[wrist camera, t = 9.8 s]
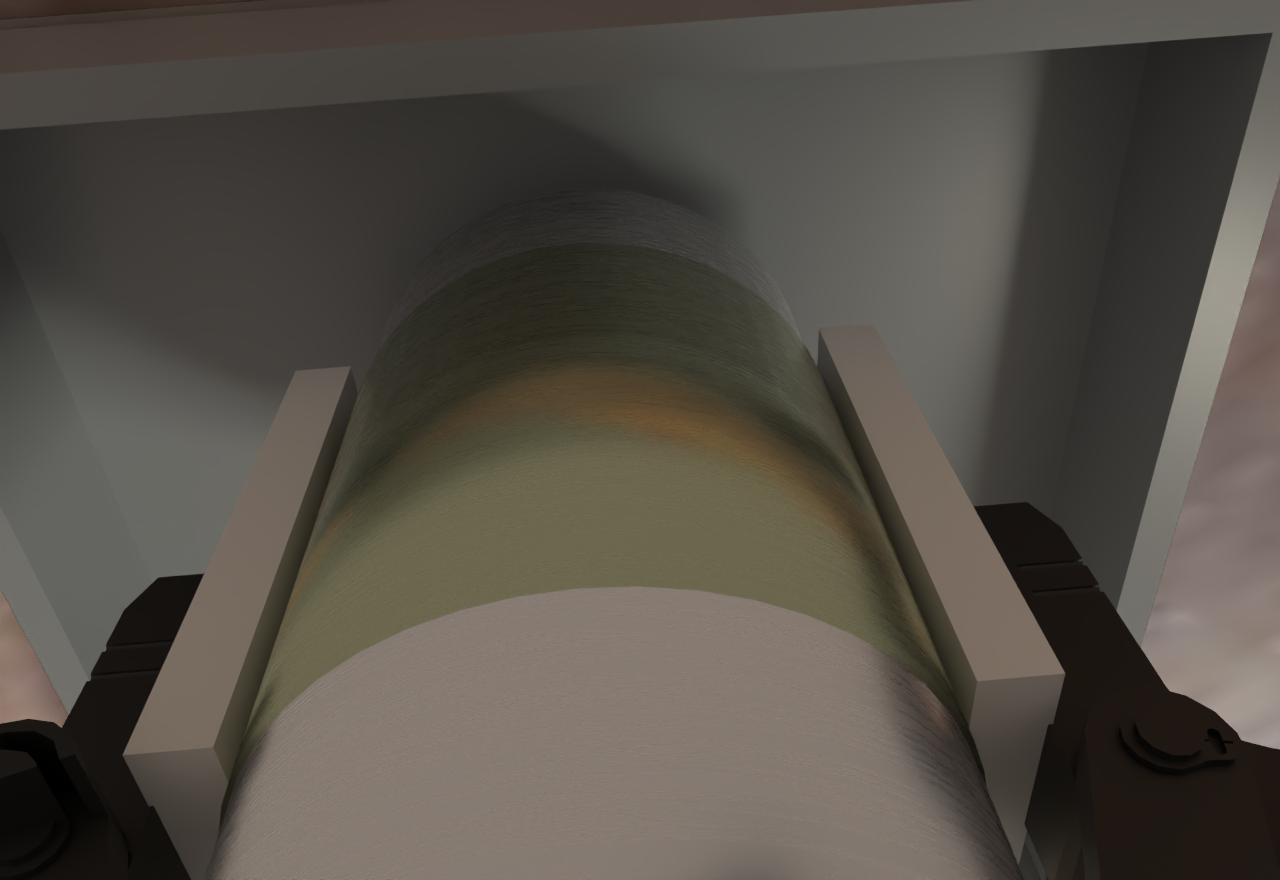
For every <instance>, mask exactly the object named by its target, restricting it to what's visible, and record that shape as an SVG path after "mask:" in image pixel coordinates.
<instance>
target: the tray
mask: <svg viewBox="0 0 1280 880" xmlns="http://www.w3.org/2000/svg"><path fill="white" fill-rule="evenodd" d="M1279 177H1280V0H260V1H247V2H234V3H220V4H207V5H193V6H180V7H166V8H153V9H139V10H126V11H112V12H99V13H86V14H72V15H59V16H45V17H32V18H18V19H5V20H0V589H1V591H2V593H3V594H4V596H5V598H6V600H7V602H8V604H9V606H10V607H11V609H12V611H13V613H14V615H15V617H16V619H17V620H18V622H19V624H20V626H21V628H22V630H23V631H24V633H25V635H26V637H27V639H28V641H29V643H30V644H31V646H32V648H33V650H34V652H35V654H36V656H37V657H38V659H39V661H40V663H41V665H42V667H43V669H44V670H45V672H46V674H47V676H48V678H49V680H50V681H51V683H52V685H53V687H54V689H55V691H56V693H57V694H58V696H59V698H60V700H61V702H62V704H63V706H64V707H65V709H66V711H67V713H68V715H69V714H70V712H71V710H72V708H73V706H74V704H75V702H76V700H77V698H78V696H79V695H80V693H81V691H82V689H83V687H84V685H85V683H86V681H90V680H91V672H92V670H93V668H94V666H95V664H96V662H97V660H98V659H99V657H100V655H101V653H102V652H105V651H106V643H107V641H108V640H109V638H110V636H111V634H112V632H113V630H114V628H115V626H116V624H117V622H118V621H119V619H120V617H121V615H122V613H123V611H124V609H125V608H126V607H128V606H129V605H130V604H131V603H132V602H133V601H134V600H135V599H136V598H137V597H138V596H139V595H140V594H141V593H142V592H143V591H144V590H146V589H147V588H148V587H149V586H150V585H151V584H152V583H153V582H154V581H155V580H156V579H157V578H158V577H169V576H181V575H193V574H204V573H205V571H206V569H207V567H208V565H209V562H210V560H211V558H212V556H213V553H214V551H215V549H216V547H217V545H218V542H219V540H220V538H221V536H222V533H223V531H224V529H225V527H226V525H227V522H228V520H229V518H230V516H231V514H232V511H233V509H234V507H235V505H236V502H237V500H238V498H239V496H240V494H241V491H242V489H243V487H244V485H245V482H246V480H247V478H248V476H249V474H250V471H251V469H252V467H253V465H254V462H255V460H256V458H257V456H258V454H259V451H260V449H261V447H262V445H263V442H264V440H265V438H266V436H267V434H268V431H269V429H270V427H271V425H272V423H273V420H274V418H275V416H276V414H277V411H278V409H279V407H280V405H281V403H282V400H283V398H284V396H285V394H286V391H287V389H288V387H289V385H290V383H291V380H292V378H293V376H294V374H295V371H297V370H310V369H322V368H334V367H347V366H351V368H352V372H353V376H354V380H355V384H356V389H357V393H359V390H360V387H361V384H362V382H363V380H364V378H365V376H366V374H367V372H368V370H369V368H370V366H371V364H372V362H373V360H374V358H375V355H376V352H377V349H378V346H379V343H380V340H381V337H382V334H383V331H384V327H385V324H386V321H387V318H388V315H389V312H390V310H391V308H392V306H393V304H394V302H395V300H396V298H397V296H398V294H399V292H400V290H401V289H402V287H403V286H404V284H405V283H406V281H407V280H408V279H409V277H410V276H411V274H412V273H413V271H414V270H415V269H416V267H417V266H418V265H419V264H420V263H421V262H422V261H423V260H424V259H425V258H426V257H427V255H428V254H429V253H430V252H431V251H432V250H433V249H434V248H435V247H436V246H437V245H439V244H440V243H441V242H442V241H444V240H445V239H446V238H447V237H449V236H450V235H451V234H452V233H454V232H455V231H456V230H457V229H459V228H460V227H462V226H464V225H466V224H467V223H469V222H471V221H472V220H474V219H476V218H477V217H479V216H481V215H483V214H484V213H487V212H489V211H491V210H494V209H496V208H498V207H501V206H503V205H506V204H508V203H510V202H513V201H517V200H520V199H524V198H527V197H531V196H535V195H538V194H542V193H549V192H556V191H563V190H570V189H610V190H619V191H628V192H635V193H639V194H643V195H648V196H652V197H656V198H660V199H664V200H666V201H669V202H672V203H674V204H677V205H679V206H682V207H684V208H687V209H690V210H692V211H694V212H696V213H698V214H699V215H701V216H703V217H705V218H707V219H708V220H710V221H712V222H714V223H716V224H717V225H719V226H720V227H721V228H723V229H724V230H725V231H727V232H728V233H730V234H731V235H732V236H734V237H735V238H736V239H738V240H739V241H740V242H741V243H742V244H743V245H744V246H745V247H746V248H747V249H748V250H749V251H750V252H751V253H752V254H753V255H754V256H755V257H756V258H757V259H758V260H759V261H760V262H761V263H762V265H763V266H764V267H765V269H766V270H767V271H768V273H769V274H770V275H771V277H772V278H773V279H774V281H775V282H776V284H777V285H778V287H779V289H780V291H781V293H782V295H783V297H784V298H785V300H786V302H787V304H788V306H789V309H790V311H791V313H792V316H793V318H794V321H795V323H796V326H797V328H798V330H799V333H800V335H801V338H802V340H803V343H804V344H805V346H806V347H807V349H808V351H809V353H810V355H811V356H812V358H813V360H814V362H815V364H816V366H817V360H818V336H819V329H820V328H832V327H844V326H857V325H869V324H873V325H874V327H875V329H876V331H877V332H878V334H879V336H880V338H881V340H882V342H883V343H884V345H885V347H886V349H887V351H888V352H889V354H890V356H891V358H892V360H893V362H894V363H895V365H896V367H897V369H898V371H899V372H900V374H901V376H902V378H903V380H904V382H905V383H906V385H907V387H908V389H909V391H910V392H911V394H912V396H913V398H914V400H915V401H916V403H917V405H918V407H919V409H920V411H921V412H922V414H923V416H924V418H925V420H926V421H927V423H928V425H929V427H930V429H931V431H932V432H933V434H934V436H935V438H936V440H937V441H938V443H939V445H940V447H941V449H942V451H943V452H944V454H945V456H946V458H947V460H948V461H949V463H950V465H951V467H952V469H953V470H954V472H955V474H956V476H957V478H958V480H959V481H960V483H961V485H962V487H963V489H964V490H965V492H966V494H967V496H968V498H969V500H970V501H971V503H972V505H973V506H984V505H996V504H1008V503H1020V502H1028V503H1029V504H1031V505H1032V506H1033V507H1035V508H1036V509H1037V510H1039V511H1040V512H1041V513H1043V514H1044V515H1046V516H1047V517H1048V518H1050V519H1051V520H1052V521H1054V522H1055V523H1056V524H1058V525H1059V526H1061V527H1062V528H1063V530H1064V531H1065V533H1066V534H1067V536H1068V537H1069V539H1070V540H1071V542H1072V543H1073V545H1074V547H1075V548H1076V550H1077V551H1078V553H1079V554H1080V556H1081V557H1082V559H1083V565H1087V566H1088V568H1089V570H1090V571H1091V573H1092V574H1093V576H1094V577H1095V579H1096V580H1097V582H1098V583H1099V588H1100V591H1101V592H1104V593H1105V594H1106V596H1107V597H1108V599H1109V600H1110V602H1111V603H1112V605H1113V606H1114V608H1115V609H1116V611H1117V612H1118V614H1119V616H1120V617H1121V619H1122V620H1123V622H1124V623H1125V625H1126V626H1127V628H1128V629H1129V631H1130V632H1131V634H1132V635H1133V637H1134V639H1135V640H1136V642H1137V643H1138V645H1139V646H1140V647H1141V643H1142V640H1143V637H1144V633H1145V630H1146V626H1147V623H1148V620H1149V616H1150V613H1151V610H1152V606H1153V603H1154V599H1155V596H1156V593H1157V589H1158V586H1159V583H1160V579H1161V576H1162V572H1163V569H1164V566H1165V562H1166V559H1167V556H1168V552H1169V549H1170V545H1171V542H1172V539H1173V535H1174V532H1175V528H1176V525H1177V522H1178V518H1179V515H1180V512H1181V508H1182V505H1183V501H1184V498H1185V495H1186V491H1187V488H1188V485H1189V481H1190V478H1191V474H1192V471H1193V468H1194V464H1195V461H1196V458H1197V454H1198V451H1199V447H1200V444H1201V441H1202V437H1203V434H1204V431H1205V427H1206V424H1207V420H1208V417H1209V414H1210V410H1211V407H1212V403H1213V400H1214V397H1215V393H1216V390H1217V387H1218V383H1219V380H1220V376H1221V373H1222V370H1223V366H1224V363H1225V360H1226V356H1227V353H1228V349H1229V346H1230V343H1231V339H1232V336H1233V333H1234V329H1235V326H1236V322H1237V319H1238V316H1239V312H1240V309H1241V305H1242V302H1243V299H1244V295H1245V292H1246V289H1247V285H1248V282H1249V278H1250V275H1251V272H1252V268H1253V265H1254V262H1255V258H1256V255H1257V251H1258V248H1259V245H1260V241H1261V238H1262V235H1263V231H1264V228H1265V224H1266V221H1267V218H1268V214H1269V211H1270V208H1271V204H1272V201H1273V197H1274V194H1275V191H1276V187H1277V184H1278V180H1279ZM1019 867H1020V870H1021V872H1022V874H1023V877H1024V879H1025V880H1043V877H1044V874H1045V870H1044V868H1043V866H1042V864H1041V861H1040V859H1039V857H1038V854H1037V852H1036V850H1035V847H1034V845H1033V843H1032V840H1031V838H1030V836H1029V834H1028V831H1027V833H1026V837H1025V841H1024V845H1023V849H1022V853H1021V857H1020V862H1019Z"/></svg>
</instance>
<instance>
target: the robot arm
mask: <svg viewBox="0 0 1280 880" xmlns="http://www.w3.org/2000/svg"><path fill="white" fill-rule="evenodd" d="M817 367H818V369H819V371H820V373H821V376H822V378H823V381H824V383H825V385H826V388H827V390H828V393H829V395H830V397H831V400H832V402H833V404H834V407H835V409H836V412H837V414H838V416H839V419H840V421H841V424H842V426H843V428H844V431H845V433H846V436H847V438H848V440H849V443H850V445H851V447H852V450H853V452H854V455H855V457H856V459H857V462H858V464H859V467H860V469H861V471H862V474H863V476H864V479H865V481H866V483H867V486H868V488H869V490H870V493H871V495H872V498H873V500H874V502H875V505H876V507H877V510H878V512H879V514H880V517H881V519H882V522H883V524H884V526H885V529H886V531H887V533H888V536H889V538H890V541H891V543H892V545H893V548H894V550H895V553H896V555H897V557H898V560H899V562H900V564H901V567H902V569H903V572H904V574H905V576H906V579H907V581H908V584H909V586H910V588H911V591H912V593H913V596H914V598H915V600H916V603H917V605H918V607H919V610H920V612H921V615H922V617H923V619H924V622H925V624H926V627H927V629H928V631H929V634H930V636H931V639H932V641H933V643H934V646H935V648H936V650H937V653H938V655H939V658H940V660H941V662H942V665H943V667H944V670H945V672H946V674H947V677H948V679H949V681H950V684H951V686H952V689H953V691H954V693H955V696H956V698H957V701H958V703H959V705H960V708H961V710H962V713H963V715H964V717H965V720H966V722H967V724H968V727H969V729H970V732H971V734H972V736H973V739H974V741H975V744H976V747H977V750H978V753H979V756H980V759H981V762H982V765H983V768H984V771H985V779H986V787H987V789H988V792H989V794H990V797H991V799H992V802H993V804H994V806H995V809H996V811H997V814H998V816H999V819H1000V821H1001V823H1002V826H1003V828H1004V831H1005V833H1006V836H1007V838H1008V840H1009V843H1010V845H1011V848H1012V850H1013V853H1014V855H1015V857H1016V860H1017V862H1018V865H1019V862H1020V857H1021V853H1022V849H1023V845H1024V841H1025V837H1026V833H1027V831H1028V834H1029V836H1030V838H1031V840H1032V843H1033V845H1034V847H1035V850H1036V852H1037V854H1038V857H1039V859H1040V861H1041V864H1042V866H1043V868H1044V870H1045V874H1044V877H1043V880H1280V750H1279V749H1273V748H1269V747H1265V746H1261V745H1257V744H1253V743H1249V742H1245V741H1242V740H1241V739H1240V737H1239V736H1238V734H1237V732H1236V731H1235V730H1234V729H1233V728H1232V727H1230V726H1229V725H1228V724H1227V723H1226V722H1225V721H1224V720H1223V719H1222V718H1221V717H1220V716H1219V715H1218V714H1217V713H1216V712H1215V711H1213V710H1211V709H1209V708H1207V707H1205V706H1204V705H1202V704H1200V703H1198V702H1196V701H1195V700H1193V699H1191V698H1189V697H1187V696H1185V695H1181V694H1177V693H1174V692H1170V691H1169V690H1168V689H1167V687H1166V686H1165V684H1164V683H1163V681H1162V680H1161V678H1160V677H1159V675H1158V674H1157V672H1156V671H1155V669H1154V668H1153V666H1152V665H1151V663H1150V661H1149V660H1148V658H1147V657H1146V655H1145V654H1144V652H1143V651H1142V649H1141V648H1140V646H1139V645H1138V643H1137V642H1136V640H1135V639H1134V637H1133V635H1132V634H1131V632H1130V631H1129V629H1128V628H1127V626H1126V625H1125V623H1124V622H1123V620H1122V619H1121V617H1120V616H1119V614H1118V612H1117V611H1116V609H1115V608H1114V606H1113V605H1112V603H1111V602H1110V600H1109V599H1108V597H1107V596H1106V594H1105V593H1104V592H1101V591H1100V588H1099V583H1098V582H1097V580H1096V579H1095V577H1094V576H1093V574H1092V573H1091V571H1090V570H1089V568H1088V566H1087V565H1083V559H1082V557H1081V556H1080V554H1079V553H1078V551H1077V550H1076V548H1075V547H1074V545H1073V543H1072V542H1071V540H1070V539H1069V537H1068V536H1067V534H1066V533H1065V531H1064V530H1063V528H1062V527H1061V526H1059V525H1058V524H1056V523H1055V522H1054V521H1052V520H1051V519H1050V518H1048V517H1047V516H1046V515H1044V514H1043V513H1041V512H1040V511H1039V510H1037V509H1036V508H1035V507H1033V506H1032V505H1031V504H1029V503H1028V502H1020V503H1008V504H996V505H984V506H973V505H972V503H971V501H970V500H969V498H968V496H967V494H966V492H965V490H964V489H963V487H962V485H961V483H960V481H959V480H958V478H957V476H956V474H955V472H954V470H953V469H952V467H951V465H950V463H949V461H948V460H947V458H946V456H945V454H944V452H943V451H942V449H941V447H940V445H939V443H938V441H937V440H936V438H935V436H934V434H933V432H932V431H931V429H930V427H929V425H928V423H927V421H926V420H925V418H924V416H923V414H922V412H921V411H920V409H919V407H918V405H917V403H916V401H915V400H914V398H913V396H912V394H911V392H910V391H909V389H908V387H907V385H906V383H905V382H904V380H903V378H902V376H901V374H900V372H899V371H898V369H897V367H896V365H895V363H894V362H893V360H892V358H891V356H890V354H889V352H888V351H887V349H886V347H885V345H884V343H883V342H882V340H881V338H880V336H879V334H878V332H877V331H876V329H875V327H874V325H873V324H869V325H857V326H844V327H832V328H820V329H819V336H818V360H817ZM357 396H358V393H357V389H356V384H355V380H354V376H353V372H352V368H351V366H347V367H334V368H322V369H310V370H297V371H295V374H294V376H293V378H292V380H291V383H290V385H289V387H288V389H287V391H286V394H285V396H284V398H283V400H282V403H281V405H280V407H279V409H278V411H277V414H276V416H275V418H274V420H273V423H272V425H271V427H270V429H269V431H268V434H267V436H266V438H265V440H264V442H263V445H262V447H261V449H260V451H259V454H258V456H257V458H256V460H255V462H254V465H253V467H252V469H251V471H250V474H249V476H248V478H247V480H246V482H245V485H244V487H243V489H242V491H241V494H240V496H239V498H238V500H237V502H236V505H235V507H234V509H233V511H232V514H231V516H230V518H229V520H228V522H227V525H226V527H225V529H224V531H223V533H222V536H221V538H220V540H219V542H218V545H217V547H216V549H215V551H214V553H213V556H212V558H211V560H210V562H209V565H208V567H207V569H206V571H205V573H204V574H193V575H181V576H169V577H158V578H157V579H156V580H155V581H154V582H153V583H152V584H151V585H150V586H149V587H148V588H147V589H146V590H144V591H143V592H142V593H141V594H140V595H139V596H138V597H137V598H136V599H135V600H134V601H133V602H132V603H131V604H130V605H129V606H128V607H126V608H125V609H124V611H123V613H122V615H121V617H120V619H119V621H118V622H117V624H116V626H115V628H114V630H113V632H112V634H111V636H110V638H109V640H108V641H107V643H106V651H105V652H102V653H101V655H100V657H99V659H98V660H97V662H96V664H95V666H94V668H93V670H92V672H91V680H90V681H86V683H85V685H84V687H83V689H82V691H81V693H80V695H79V696H78V698H77V700H76V702H75V704H74V706H73V708H72V710H71V712H70V714H69V715H68V717H67V719H66V721H65V723H64V725H63V727H62V728H61V727H59V726H58V725H57V724H55V723H54V722H47V721H40V720H32V719H25V720H20V721H14V722H9V723H3V724H0V880H204V877H205V874H206V871H207V868H208V864H209V861H210V858H211V855H212V852H213V849H214V846H215V843H216V840H217V837H218V834H219V825H220V813H221V805H222V802H223V799H224V795H225V792H226V789H227V786H228V782H229V779H230V776H231V773H232V770H233V767H234V764H235V761H236V758H237V755H238V752H239V749H240V746H241V743H242V740H243V737H244V734H245V731H246V728H247V725H248V722H249V719H250V716H251V713H252V710H253V707H254V704H255V701H256V698H257V695H258V692H259V689H260V686H261V683H262V680H263V677H264V674H265V671H266V668H267V665H268V662H269V659H270V656H271V653H272V650H273V647H274V644H275V641H276V638H277V635H278V632H279V629H280V626H281V623H282V620H283V617H284V614H285V611H286V608H287V605H288V602H289V599H290V596H291V594H292V591H293V588H294V585H295V582H296V579H297V576H298V573H299V570H300V567H301V564H302V561H303V558H304V555H305V552H306V549H307V546H308V543H309V540H310V537H311V534H312V531H313V528H314V525H315V522H316V519H317V516H318V513H319V510H320V507H321V504H322V501H323V498H324V495H325V492H326V489H327V486H328V483H329V480H330V477H331V474H332V471H333V468H334V465H335V462H336V459H337V456H338V453H339V450H340V447H341V444H342V441H343V438H344V435H345V432H346V429H347V426H348V423H349V420H350V417H351V414H352V411H353V408H354V405H355V402H356V399H357Z"/></svg>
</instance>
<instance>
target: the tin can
mask: <svg viewBox="0 0 1280 880" xmlns="http://www.w3.org/2000/svg"><path fill="white" fill-rule="evenodd" d="M204 880H1025V879H1024V877H1023V874H1022V872H1021V870H1020V867H1019V865H1018V862H1017V860H1016V857H1015V855H1014V853H1013V850H1012V848H1011V845H1010V843H1009V840H1008V838H1007V836H1006V833H1005V831H1004V828H1003V826H1002V823H1001V821H1000V819H999V816H998V814H997V811H996V809H995V806H994V804H993V802H992V799H991V797H990V794H989V792H988V789H987V787H986V779H985V771H984V768H983V765H982V762H981V759H980V756H979V753H978V750H977V747H976V744H975V741H974V739H973V736H972V734H971V732H970V729H969V727H968V724H967V722H966V720H965V717H964V715H963V713H962V710H961V708H960V705H959V703H958V701H957V698H956V696H955V693H954V691H953V689H952V686H951V684H950V681H949V679H948V677H947V674H946V672H945V670H944V667H943V665H942V662H941V660H940V658H939V655H938V653H937V650H936V648H935V646H934V643H933V641H932V639H931V636H930V634H929V631H928V629H927V627H926V624H925V622H924V619H923V617H922V615H921V612H920V610H919V607H918V605H917V603H916V600H915V598H914V596H913V593H912V591H911V588H910V586H909V584H908V581H907V579H906V576H905V574H904V572H903V569H902V567H901V564H900V562H899V560H898V557H897V555H896V553H895V550H894V548H893V545H892V543H891V541H890V538H889V536H888V533H887V531H886V529H885V526H884V524H883V522H882V519H881V517H880V514H879V512H878V510H877V507H876V505H875V502H874V500H873V498H872V495H871V493H870V490H869V488H868V486H867V483H866V481H865V479H864V476H863V474H862V471H861V469H860V467H859V464H858V462H857V459H856V457H855V455H854V452H853V450H852V447H851V445H850V443H849V440H848V438H847V436H846V433H845V431H844V428H843V426H842V424H841V421H840V419H839V416H838V414H837V412H836V409H835V407H834V404H833V402H832V400H831V397H830V395H829V393H828V390H827V388H826V385H825V383H824V381H823V378H822V376H821V373H820V371H819V369H818V367H817V366H816V364H815V362H814V360H813V358H812V356H811V355H810V353H809V351H808V349H807V347H806V346H805V344H804V343H803V340H802V338H801V335H800V333H799V330H798V328H797V326H796V323H795V321H794V318H793V316H792V313H791V311H790V309H789V306H788V304H787V302H786V300H785V298H784V297H783V295H782V293H781V291H780V289H779V287H778V285H777V284H776V282H775V281H774V279H773V278H772V277H771V275H770V274H769V273H768V271H767V270H766V269H765V267H764V266H763V265H762V263H761V262H760V261H759V260H758V259H757V258H756V257H755V256H754V255H753V254H752V253H751V252H750V251H749V250H748V249H747V248H746V247H745V246H744V245H743V244H742V243H741V242H740V241H739V240H738V239H736V238H735V237H734V236H732V235H731V234H730V233H728V232H727V231H725V230H724V229H723V228H721V227H720V226H719V225H717V224H716V223H714V222H712V221H710V220H708V219H707V218H705V217H703V216H701V215H699V214H698V213H696V212H694V211H692V210H690V209H687V208H684V207H682V206H679V205H677V204H674V203H672V202H669V201H666V200H664V199H660V198H656V197H652V196H648V195H643V194H639V193H635V192H628V191H619V190H610V189H570V190H563V191H556V192H549V193H542V194H538V195H535V196H531V197H527V198H524V199H520V200H517V201H513V202H510V203H508V204H506V205H503V206H501V207H498V208H496V209H494V210H491V211H489V212H487V213H484V214H483V215H481V216H479V217H477V218H476V219H474V220H472V221H471V222H469V223H467V224H466V225H464V226H462V227H460V228H459V229H457V230H456V231H455V232H454V233H452V234H451V235H450V236H449V237H447V238H446V239H445V240H444V241H442V242H441V243H440V244H439V245H437V246H436V247H435V248H434V249H433V250H432V251H431V252H430V253H429V254H428V255H427V257H426V258H425V259H424V260H423V261H422V262H421V263H420V264H419V265H418V266H417V267H416V269H415V270H414V271H413V273H412V274H411V276H410V277H409V279H408V280H407V281H406V283H405V284H404V286H403V287H402V289H401V290H400V292H399V294H398V296H397V298H396V300H395V302H394V304H393V306H392V308H391V310H390V312H389V315H388V318H387V321H386V324H385V327H384V331H383V334H382V337H381V340H380V343H379V346H378V349H377V352H376V355H375V358H374V360H373V362H372V364H371V366H370V368H369V370H368V372H367V374H366V376H365V378H364V380H363V382H362V384H361V387H360V390H359V393H358V396H357V399H356V402H355V405H354V408H353V411H352V414H351V417H350V420H349V423H348V426H347V429H346V432H345V435H344V438H343V441H342V444H341V447H340V450H339V453H338V456H337V459H336V462H335V465H334V468H333V471H332V474H331V477H330V480H329V483H328V486H327V489H326V492H325V495H324V498H323V501H322V504H321V507H320V510H319V513H318V516H317V519H316V522H315V525H314V528H313V531H312V534H311V537H310V540H309V543H308V546H307V549H306V552H305V555H304V558H303V561H302V564H301V567H300V570H299V573H298V576H297V579H296V582H295V585H294V588H293V591H292V594H291V596H290V599H289V602H288V605H287V608H286V611H285V614H284V617H283V620H282V623H281V626H280V629H279V632H278V635H277V638H276V641H275V644H274V647H273V650H272V653H271V656H270V659H269V662H268V665H267V668H266V671H265V674H264V677H263V680H262V683H261V686H260V689H259V692H258V695H257V698H256V701H255V704H254V707H253V710H252V713H251V716H250V719H249V722H248V725H247V728H246V731H245V734H244V737H243V740H242V743H241V746H240V749H239V752H238V755H237V758H236V761H235V764H234V767H233V770H232V773H231V776H230V779H229V782H228V786H227V789H226V792H225V795H224V799H223V802H222V805H221V813H220V825H219V834H218V837H217V840H216V843H215V846H214V849H213V852H212V855H211V858H210V861H209V864H208V868H207V871H206V874H205V877H204Z"/></svg>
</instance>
